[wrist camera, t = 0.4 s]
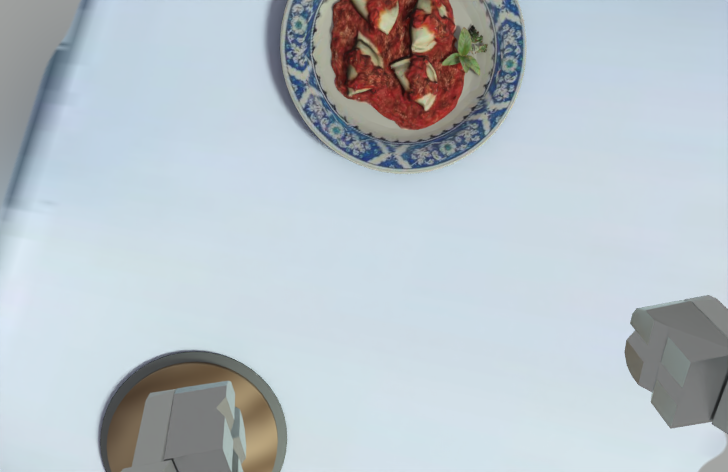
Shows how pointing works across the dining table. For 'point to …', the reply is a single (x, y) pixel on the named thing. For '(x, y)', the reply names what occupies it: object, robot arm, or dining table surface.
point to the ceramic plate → (403, 76)
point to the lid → (186, 374)
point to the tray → (208, 358)
